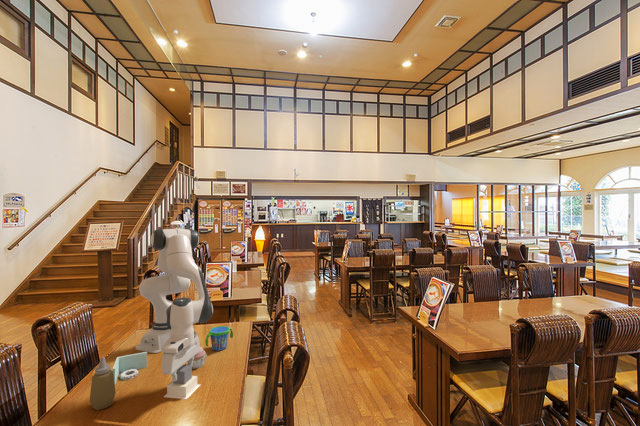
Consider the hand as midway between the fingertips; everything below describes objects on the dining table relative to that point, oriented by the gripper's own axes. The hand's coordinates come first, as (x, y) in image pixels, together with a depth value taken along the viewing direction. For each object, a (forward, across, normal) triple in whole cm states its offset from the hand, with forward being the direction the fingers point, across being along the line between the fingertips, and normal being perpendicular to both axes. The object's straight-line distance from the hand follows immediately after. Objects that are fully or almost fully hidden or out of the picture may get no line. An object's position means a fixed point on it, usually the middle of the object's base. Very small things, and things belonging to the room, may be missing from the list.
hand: (182, 373), depth 121 cm
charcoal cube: (+3, 0, 0) cm, 3 cm away
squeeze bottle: (+8, +12, -25) cm, 29 cm away
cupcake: (+8, -20, -6) cm, 22 cm away
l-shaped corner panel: (+8, -9, -32) cm, 34 cm away
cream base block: (+7, 0, 0) cm, 7 cm away
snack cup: (+8, -40, -5) cm, 41 cm away
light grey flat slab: (+7, 0, -1) cm, 7 cm away
